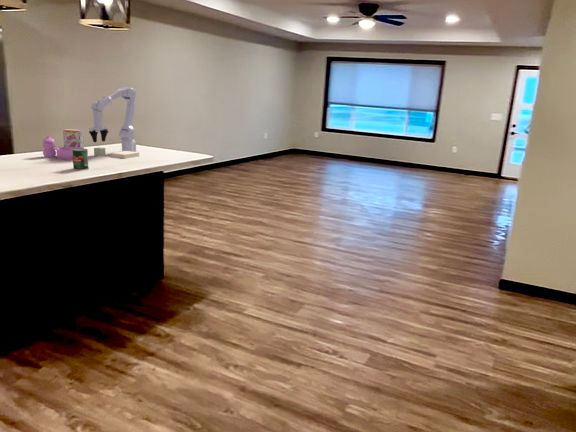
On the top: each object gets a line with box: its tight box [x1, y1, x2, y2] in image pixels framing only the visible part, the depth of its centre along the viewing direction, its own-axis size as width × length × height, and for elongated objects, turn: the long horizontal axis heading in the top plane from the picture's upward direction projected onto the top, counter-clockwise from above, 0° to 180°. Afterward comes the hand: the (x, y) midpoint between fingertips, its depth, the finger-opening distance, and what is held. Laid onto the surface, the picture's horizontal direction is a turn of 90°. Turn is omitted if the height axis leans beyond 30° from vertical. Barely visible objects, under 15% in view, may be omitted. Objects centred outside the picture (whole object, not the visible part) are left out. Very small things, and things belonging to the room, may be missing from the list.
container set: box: [42, 135, 81, 161], centre depth 310 cm, size 25×15×13 cm, turn 84°
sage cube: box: [93, 147, 107, 157], centre depth 328 cm, size 5×5×5 cm
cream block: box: [109, 150, 140, 159], centre depth 330 cm, size 14×12×3 cm
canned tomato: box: [72, 148, 89, 171], centre depth 279 cm, size 8×8×11 cm
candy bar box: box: [62, 128, 85, 149], centre depth 322 cm, size 11×5×16 cm, turn 84°
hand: (99, 141), depth 326 cm, fingers open, 7 cm apart
